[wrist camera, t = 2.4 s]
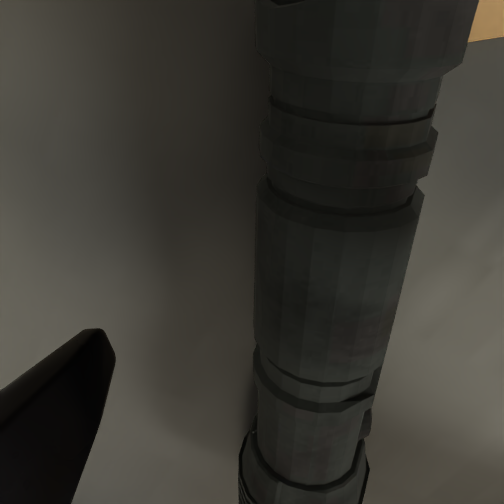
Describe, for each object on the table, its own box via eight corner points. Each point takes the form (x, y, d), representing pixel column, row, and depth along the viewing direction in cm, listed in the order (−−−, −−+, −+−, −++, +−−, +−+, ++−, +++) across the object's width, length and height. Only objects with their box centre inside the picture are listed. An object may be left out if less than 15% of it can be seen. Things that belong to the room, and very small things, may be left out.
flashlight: (245, 468, 22) (229, 588, 17) (249, -30, 10) (207, -30, 6) (347, 480, 21) (356, 606, 17) (468, -27, 10) (582, -24, 6)
